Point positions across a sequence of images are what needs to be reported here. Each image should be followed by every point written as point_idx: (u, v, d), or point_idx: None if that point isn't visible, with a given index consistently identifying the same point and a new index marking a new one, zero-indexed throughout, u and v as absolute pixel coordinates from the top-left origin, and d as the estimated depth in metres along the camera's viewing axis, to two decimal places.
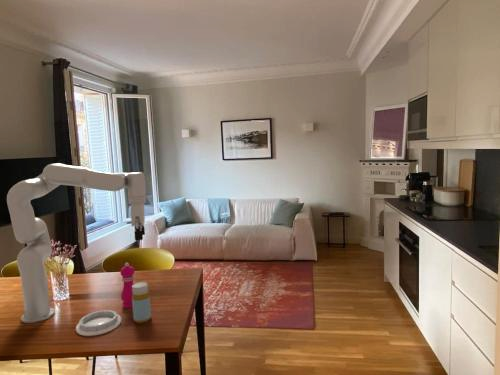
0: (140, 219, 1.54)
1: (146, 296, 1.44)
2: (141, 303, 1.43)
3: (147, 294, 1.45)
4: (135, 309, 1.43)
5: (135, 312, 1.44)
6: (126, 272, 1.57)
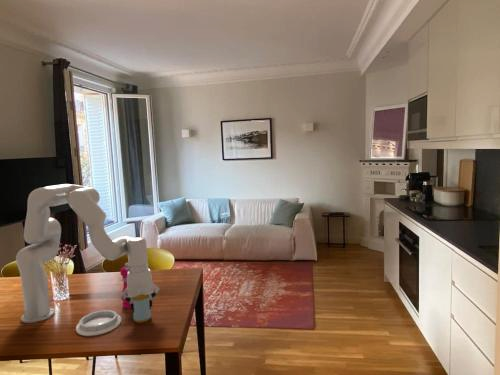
0: None
1: (146, 296, 1.44)
2: (141, 303, 1.43)
3: None
4: (135, 309, 1.43)
5: (135, 312, 1.44)
6: (126, 272, 1.57)
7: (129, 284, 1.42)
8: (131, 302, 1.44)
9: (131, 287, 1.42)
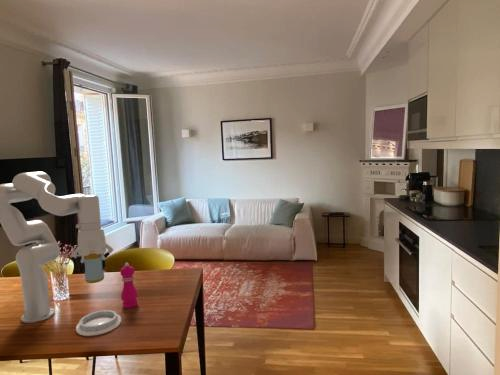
0: None
1: (98, 255, 1.39)
2: (93, 262, 1.38)
3: None
4: (86, 269, 1.38)
5: (86, 272, 1.38)
6: (126, 272, 1.57)
7: (79, 242, 1.36)
8: (82, 261, 1.39)
9: (82, 245, 1.37)
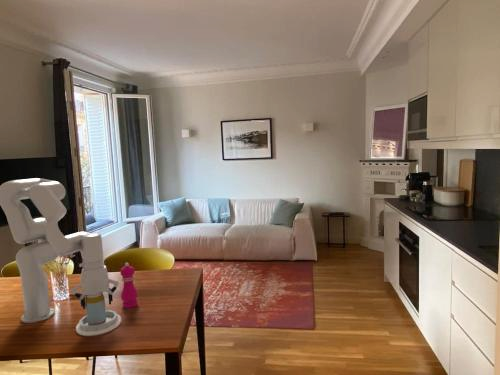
0: None
1: (100, 299, 1.41)
2: (95, 306, 1.40)
3: (101, 297, 1.42)
4: (89, 312, 1.40)
5: (88, 315, 1.40)
6: (126, 272, 1.57)
7: (83, 281, 1.38)
8: (81, 298, 1.39)
9: (85, 284, 1.38)
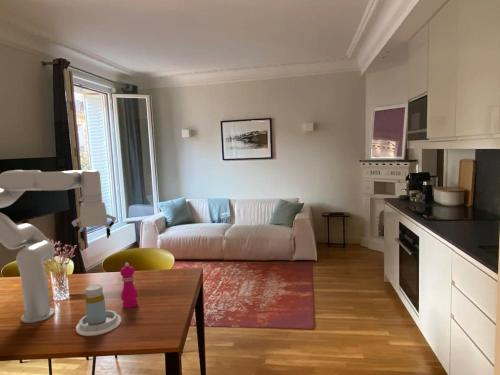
0: None
1: (100, 299, 1.41)
2: (95, 306, 1.40)
3: (101, 297, 1.42)
4: (89, 312, 1.40)
5: (88, 315, 1.40)
6: (126, 272, 1.57)
7: (82, 214, 1.46)
8: (80, 230, 1.48)
9: (84, 217, 1.46)
